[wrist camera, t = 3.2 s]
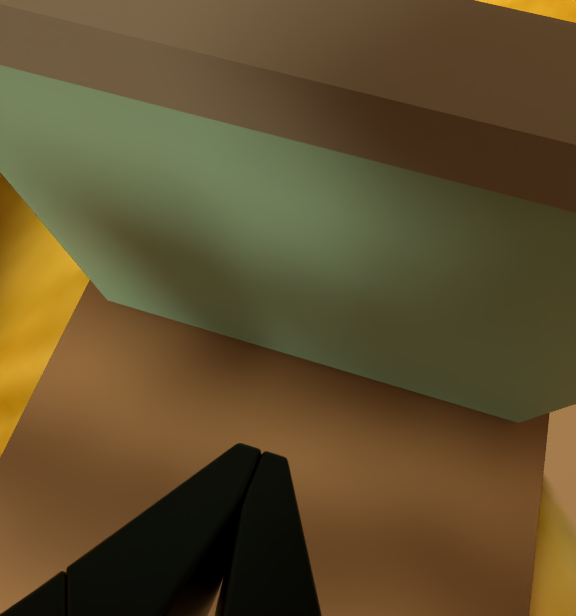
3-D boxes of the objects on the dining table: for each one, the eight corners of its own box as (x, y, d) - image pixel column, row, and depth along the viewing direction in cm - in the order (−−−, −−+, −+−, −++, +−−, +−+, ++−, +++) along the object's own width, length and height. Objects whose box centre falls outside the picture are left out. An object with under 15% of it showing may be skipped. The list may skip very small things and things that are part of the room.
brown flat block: (436, 871, 15) (490, 997, 11) (-45, 685, 16) (-143, 740, 12) (499, 417, 20) (551, 397, 16) (129, 307, 21) (97, 264, 17)
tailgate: (524, 434, 15) (1099, 272, 5) (98, 306, 17) (-228, -52, 6) (530, 379, 16) (1046, 127, 5) (120, 261, 17) (-138, -135, 7)
